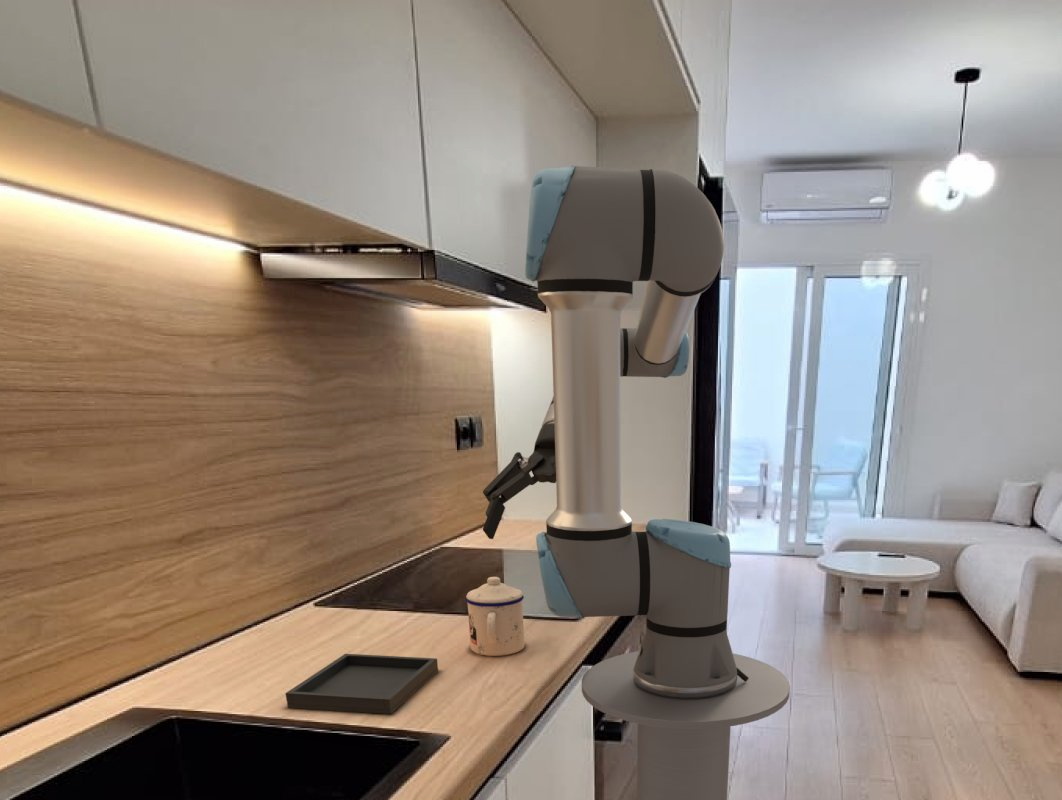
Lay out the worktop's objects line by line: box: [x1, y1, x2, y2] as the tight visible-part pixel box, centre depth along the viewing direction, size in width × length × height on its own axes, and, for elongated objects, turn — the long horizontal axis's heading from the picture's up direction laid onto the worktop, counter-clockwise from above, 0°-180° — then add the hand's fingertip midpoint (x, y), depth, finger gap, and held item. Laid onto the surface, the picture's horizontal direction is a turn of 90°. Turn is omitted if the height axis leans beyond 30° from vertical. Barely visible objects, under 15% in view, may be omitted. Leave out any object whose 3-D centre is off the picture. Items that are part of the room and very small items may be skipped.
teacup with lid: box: [465, 576, 525, 657], centre depth 128 cm, size 12×9×12 cm
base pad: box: [285, 653, 439, 715], centre depth 114 cm, size 15×17×2 cm
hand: (523, 537), depth 133 cm, fingers open, 13 cm apart
